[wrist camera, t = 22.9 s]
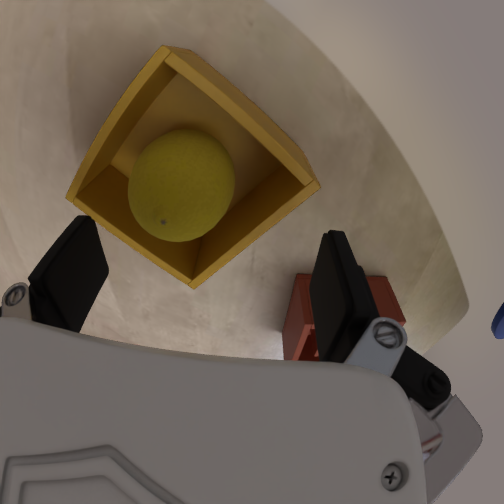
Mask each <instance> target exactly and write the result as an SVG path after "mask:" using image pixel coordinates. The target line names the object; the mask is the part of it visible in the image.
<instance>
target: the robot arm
mask: <svg viewBox="0 0 504 504" xmlns="http://www.w3.org/2000/svg"><path fill="white" fill-rule="evenodd" d="M108 273H109V268H108V264H107V261H106V258H105V255H104V252H103V248H102V245H101V241H100V238H99V234H98V231H97V227H96V223H95V221H94V219H92V218H91V216H87V215H79V216H77V217H76V218H75V219H74V220H73V221H72V222H71V223H70V225H69V226H68V227H67V228H66V229H65V230H64V232H63V233H62V234H61V235H60V236H59V238H58V239H57V240H56V241H55V243H54V244H53V245H52V246H51V248H50V249H49V250H48V251H47V253H46V254H45V255H44V257H43V258H42V259H41V261H40V262H39V263H38V265H37V266H36V267H35V269H34V270H33V271H32V273H31V274H30V276H29V277H28V280H29V282H30V286H29V287H28V285H27V284H26V283H23V282H19V283H16V284H14V285H12V286H11V287H9V288H8V289H7V291H6V292H5V293H4V295H3V297H2V306H1V307H0V504H432V503H434V502H435V500H436V499H437V498H438V497H439V496H440V495H441V494H442V493H443V492H444V491H445V490H446V488H447V487H448V486H449V485H450V484H451V483H452V482H453V480H454V479H455V478H456V477H457V476H458V475H459V473H460V472H461V470H463V468H464V467H465V466H466V464H467V463H468V462H469V460H470V459H471V458H472V456H473V455H474V454H475V452H476V451H477V449H478V448H479V446H480V444H481V442H482V437H483V435H482V429H481V427H480V425H479V424H478V423H477V421H476V420H475V419H474V417H473V416H472V415H471V413H470V412H469V411H468V409H467V408H466V407H465V406H464V404H463V403H462V402H461V401H460V399H459V398H458V397H457V395H454V396H452V395H451V393H450V392H451V384H450V381H449V378H448V377H447V375H446V374H445V373H444V372H443V371H442V370H440V369H439V368H438V367H436V366H434V364H432V363H431V362H429V361H428V360H426V359H425V358H424V357H422V356H421V355H419V354H418V353H417V352H415V351H414V350H412V349H411V348H410V347H408V346H407V345H406V344H407V334H406V332H405V329H404V328H403V327H402V326H401V324H399V323H398V322H397V321H396V320H393V319H391V318H387V317H380V315H379V312H378V309H377V306H376V303H375V300H374V297H373V295H372V292H371V289H370V286H369V284H368V281H367V278H366V276H365V273H364V271H363V269H362V267H361V266H359V265H357V263H356V260H355V258H354V255H353V252H352V250H351V247H350V245H349V242H348V240H347V238H346V235H345V233H344V232H343V231H335V230H329V231H328V234H327V233H324V234H323V237H322V240H321V244H320V248H319V252H318V256H317V259H316V263H315V267H314V270H313V274H312V277H311V281H310V285H309V294H310V300H311V306H312V313H313V320H314V326H315V333H316V341H317V348H318V356H319V361H320V362H319V361H292V360H271V359H253V358H238V357H226V356H215V355H205V354H196V353H188V352H180V351H172V350H165V349H159V348H152V347H146V346H140V345H134V344H129V343H123V342H118V341H113V340H108V339H103V338H99V337H94V336H90V335H85V334H81V333H79V332H80V330H81V328H82V326H83V323H84V321H85V319H86V317H87V315H88V313H89V311H90V309H91V307H92V305H93V303H94V301H95V299H96V297H97V295H98V293H99V291H100V289H101V287H102V285H103V283H104V282H105V280H106V278H107V276H108Z"/></svg>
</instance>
